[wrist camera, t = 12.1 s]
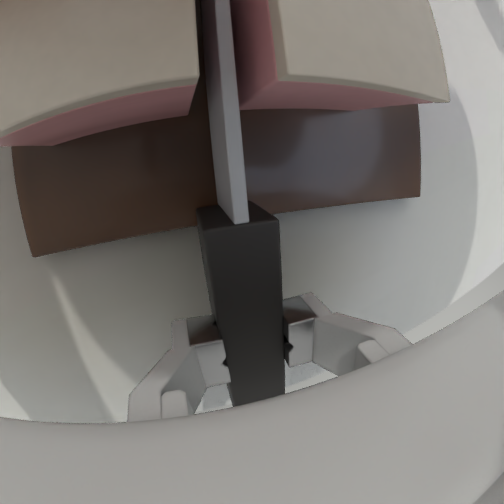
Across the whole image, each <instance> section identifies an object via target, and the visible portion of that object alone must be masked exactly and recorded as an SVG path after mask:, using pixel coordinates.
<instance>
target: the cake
mask: <svg viewBox="0 0 504 504" xmlns="http://www.w3.org/2000/svg"><path fill="white" fill-rule="evenodd" d="M239 111H240V122H241V133H242V145H243V156H244V167H245V178H246V189H247V201H248V200H250V201H252V202H254V203H255V204H257V205H258V206H260V207H261V208H262V209H264V210H265V211H267V212H268V213H270V214H276V213H284V212H291V211H298V210H306V209H314V208H321V207H329V206H338V205H346V204H355V203H363V202H373V201H382V200H392V199H402V198H412V197H419V196H420V185H421V149H420V127H419V113H418V104H409V105H398V106H388V107H379V108H371V109H364V110H357V111H347V110H330V109H252V110H239ZM2 146H11V148H12V158H13V167H14V175H15V182H16V188H17V194H18V199H19V205H20V209H21V214H22V219H23V223H24V227H25V231H26V235H27V239H28V243H29V246H30V250H31V253H32V256H33V257H34V258H35V257H39V256H44V255H48V254H53V253H57V252H62V251H67V250H71V249H76V248H81V247H85V246H90V245H95V244H100V243H105V242H110V241H115V240H120V239H126V238H131V237H136V236H141V235H147V234H152V233H158V232H163V231H169V230H175V229H181V228H186V227H192V226H198V225H197V217H196V209H197V208H199V207H206V206H212V205H219V204H218V200H217V192H216V182H215V173H214V164H213V154H212V144H211V133H210V122H209V111H208V100H207V88H206V75H205V62H204V47H203V32H202V14H201V0H0V147H2Z"/></svg>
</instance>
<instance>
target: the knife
mask: <svg viewBox="0 0 504 504" xmlns="http://www.w3.org/2000/svg"><path fill="white" fill-rule="evenodd" d="M201 14H202V32H203V47H204V62H205V75H206V88H207V100H208V111H209V122H210V133H211V144H212V154H213V164H214V173H215V182H216V192H217V200H218V204H219V205H212V206H206V207H199V208H197V209H196V217H197V225H198V231H199V238H200V245H201V251H202V258H203V264H204V270H205V276H206V282H207V288H208V294H209V300H210V305H211V311H212V314H214V315H215V318H216V323H217V326H218V329H219V330H220V332H221V336H222V339H223V344H224V349H225V354H226V361H227V365H228V369H229V374H230V379H231V382H229V383H226V384H227V387H228V391H229V394H230V398H231V401H232V405H233V407H235V406H240V405H244V404H249V403H253V402H257V401H261V400H265V399H268V398H272V397H276V396H279V395H283V394H285V365H284V333H283V296H282V272H281V251H280V232H279V220H278V219H277V218H276V217H274V216H273V215H271V214H270V213H268V212H267V211H265V210H264V209H262V208H261V207H260V206H258V205H257V204H255V203H254V202H252V201H250V200H248V201H247V189H246V178H245V167H244V156H243V145H242V133H241V122H240V111H239V100H238V88H237V77H236V66H235V55H234V44H233V32H232V21H231V10H230V0H201Z"/></svg>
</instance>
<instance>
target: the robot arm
mask: <svg viewBox="0 0 504 504" xmlns="http://www.w3.org/2000/svg"><path fill="white" fill-rule="evenodd" d="M171 328H172V350H168V351H167V352H166V353H165V355H164V356H163V357H162V358H161V359H160V360H159V361H158V363H157V364H156V365H155V366H154V367H153V368H152V369H151V371H150V372H149V373H148V374H147V375H146V376H145V377H144V379H143V380H142V381H141V382H140V383H139V384H138V385H137V387H136V388H135V389H134V390H133V391H132V392H131V393H130V395H129V403H128V416H127V422H118V423H54V422H39V421H28V420H19V419H11V418H4V417H0V504H504V290H503V291H502V292H500V293H499V294H497V295H496V296H494V297H493V298H492V299H490V300H489V301H487V302H486V303H484V304H483V305H481V306H480V307H478V308H477V309H475V310H473V311H472V312H470V313H468V314H467V315H465V316H463V317H462V318H460V319H459V320H457V321H455V322H453V323H452V324H450V325H448V326H446V327H445V328H443V329H441V330H439V331H437V332H436V333H434V334H432V335H430V336H428V337H426V338H425V339H422V340H421V341H419V342H417V343H415V344H412V343H411V342H409V341H408V340H407V339H406V338H405V337H404V336H403V335H402V334H400V333H399V332H398V331H397V330H396V329H395V328H391V327H387V326H384V325H380V324H376V323H373V322H369V321H365V320H362V319H358V318H354V317H351V316H347V315H344V314H340V313H337V312H336V313H332V312H331V311H330V310H329V309H328V308H327V307H326V306H325V305H324V304H323V303H322V302H321V301H320V300H319V299H318V298H317V297H316V296H315V294H314V293H312V292H309V293H306V294H302V295H299V296H295V297H291V298H288V299H284V300H283V333H284V359H285V360H286V362H287V364H288V366H289V367H293V366H297V365H300V364H304V363H308V362H311V361H313V363H315V364H317V365H319V366H321V367H323V368H324V369H326V370H328V371H330V372H332V373H334V374H336V375H338V377H335V378H332V379H329V380H327V381H324V382H321V383H318V384H315V385H312V386H309V387H306V388H303V389H300V390H297V391H293V392H290V393H286V394H283V395H279V396H276V397H272V398H268V399H265V400H261V401H257V402H253V403H249V404H244V405H240V406H235V407H231V408H226V409H221V410H216V411H211V412H205V413H199V414H194V413H195V411H196V409H197V407H198V405H199V403H200V401H201V399H202V397H203V395H204V393H205V391H206V387H211V386H215V385H220V384H224V383H229V382H231V379H230V374H229V369H228V365H227V361H226V354H225V349H224V344H223V339H222V336H221V332H220V330H219V329H218V326H217V323H216V318H215V315H214V314H211V315H205V316H199V317H193V318H187V319H180V320H175V321H172V323H171Z"/></svg>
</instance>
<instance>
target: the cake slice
mask: <svg viewBox="0 0 504 504" xmlns="http://www.w3.org/2000/svg"><path fill="white" fill-rule="evenodd" d="M230 10H231V21H232V32H233V44H234V55H235V66H236V77H237V88H238V100H239V110H252V109H330V110H347V111H357V110H364V109H371V108H379V107H388V106H398V105H409V104H422V103H433V102H434V103H449V102H450V97H449V89H448V81H447V75H446V69H445V63H444V58H443V53H442V48H441V44H440V39H439V35H438V31H437V27H436V24H435V20H434V17H433V13H432V10H431V7H430V4H429V1H428V0H230Z"/></svg>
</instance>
